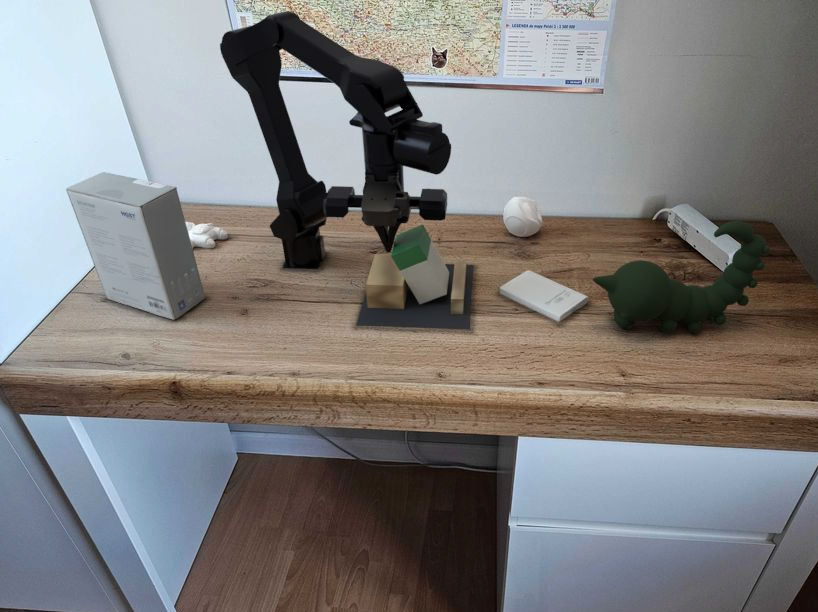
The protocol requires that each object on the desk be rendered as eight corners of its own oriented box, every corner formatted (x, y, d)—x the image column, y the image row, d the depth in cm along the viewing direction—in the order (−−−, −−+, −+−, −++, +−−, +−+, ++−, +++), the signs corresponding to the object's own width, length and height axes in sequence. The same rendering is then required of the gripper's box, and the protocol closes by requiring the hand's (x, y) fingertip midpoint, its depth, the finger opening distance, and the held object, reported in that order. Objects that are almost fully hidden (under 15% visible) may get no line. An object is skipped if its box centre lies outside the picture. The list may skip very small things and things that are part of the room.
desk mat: (356, 327, 106) (356, 325, 106) (375, 263, 122) (374, 261, 122) (469, 331, 105) (469, 329, 105) (473, 266, 121) (473, 264, 121)
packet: (391, 302, 110) (390, 242, 104) (396, 280, 116) (396, 222, 109) (446, 306, 110) (448, 246, 104) (448, 283, 116) (451, 225, 109)
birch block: (367, 307, 110) (365, 284, 107) (376, 276, 118) (374, 253, 115) (404, 309, 109) (402, 285, 107) (410, 277, 117) (409, 254, 114)
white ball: (542, 244, 128) (546, 207, 123) (503, 244, 128) (505, 206, 123) (538, 225, 134) (542, 189, 129) (501, 225, 134) (503, 188, 129)
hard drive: (528, 277, 118) (587, 303, 112) (498, 295, 113) (558, 324, 107) (529, 269, 117) (588, 295, 111) (499, 287, 112) (559, 315, 106)
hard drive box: (208, 298, 112) (179, 187, 100) (175, 322, 107) (140, 207, 95) (138, 278, 118) (103, 169, 105) (104, 299, 112) (62, 187, 100)
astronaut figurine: (204, 255, 124) (200, 240, 122) (154, 242, 128) (150, 228, 126) (234, 235, 130) (231, 220, 128) (186, 223, 134) (182, 209, 132)
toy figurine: (718, 313, 112) (574, 307, 109) (760, 209, 101) (601, 200, 98) (742, 346, 105) (588, 341, 102) (790, 239, 93) (618, 230, 91)
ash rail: (450, 314, 108) (450, 298, 106) (454, 275, 118) (454, 260, 116) (463, 314, 108) (463, 299, 106) (466, 276, 118) (466, 261, 116)
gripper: (309, 178, 93) (321, 275, 103) (442, 182, 92) (442, 279, 102) (325, 149, 102) (336, 240, 111) (447, 152, 101) (447, 244, 111)
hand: (389, 251), depth 109 cm, fingers closed
